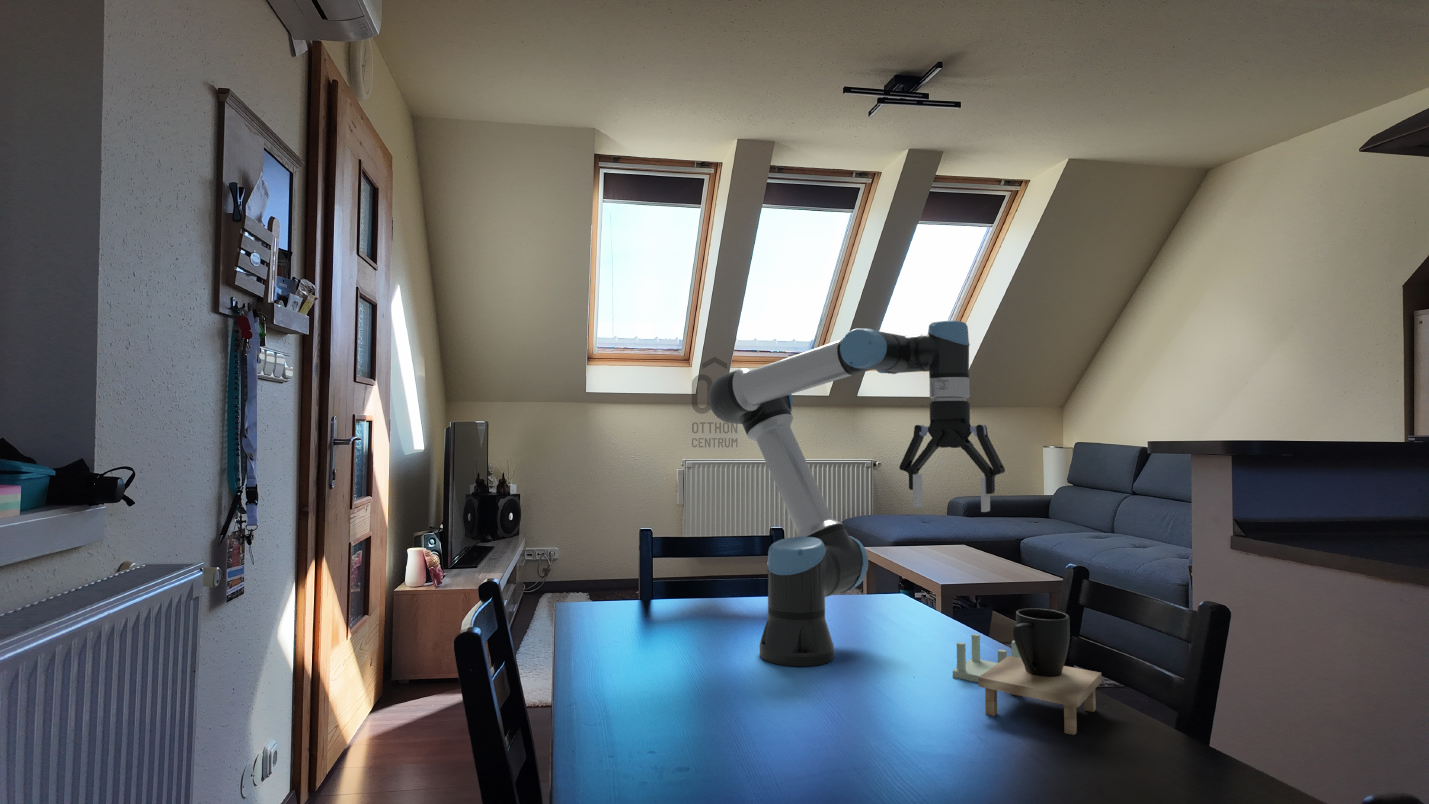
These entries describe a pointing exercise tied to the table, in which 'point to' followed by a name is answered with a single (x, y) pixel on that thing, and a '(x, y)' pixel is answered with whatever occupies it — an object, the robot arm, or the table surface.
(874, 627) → the table surface
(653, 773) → the table surface
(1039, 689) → the oak stool
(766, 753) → the table surface
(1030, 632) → the mug
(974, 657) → the upturned footstool
